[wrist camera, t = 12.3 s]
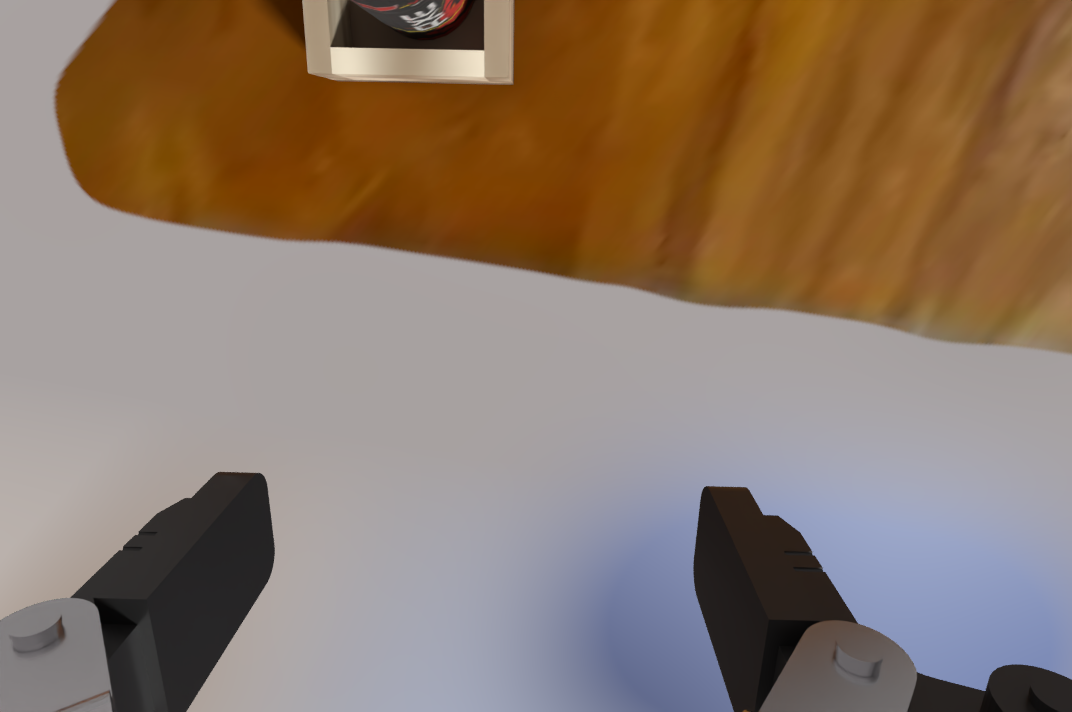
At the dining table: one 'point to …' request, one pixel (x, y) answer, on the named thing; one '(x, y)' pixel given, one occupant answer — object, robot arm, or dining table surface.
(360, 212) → the dining table surface
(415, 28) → the deodorant
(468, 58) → the white wooden box
